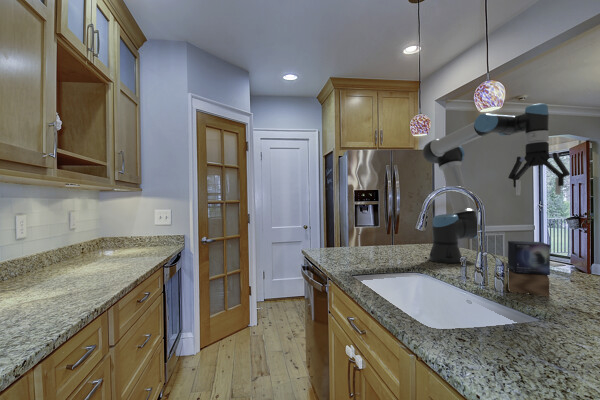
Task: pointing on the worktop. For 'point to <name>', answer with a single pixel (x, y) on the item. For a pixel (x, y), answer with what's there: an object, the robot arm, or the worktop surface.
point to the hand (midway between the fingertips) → (537, 195)
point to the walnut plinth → (529, 283)
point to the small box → (529, 257)
